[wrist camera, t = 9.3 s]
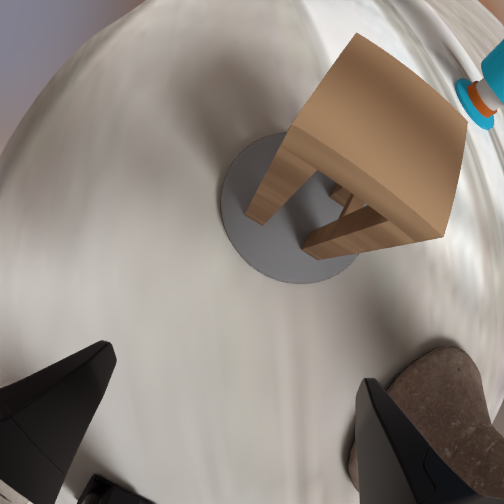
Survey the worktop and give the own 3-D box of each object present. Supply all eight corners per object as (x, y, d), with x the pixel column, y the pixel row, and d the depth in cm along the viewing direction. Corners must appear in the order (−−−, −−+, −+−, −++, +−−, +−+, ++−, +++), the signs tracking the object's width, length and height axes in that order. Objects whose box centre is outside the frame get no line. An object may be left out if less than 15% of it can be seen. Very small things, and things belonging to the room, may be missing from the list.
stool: (317, 260, 20) (443, 237, 8) (244, 214, 19) (291, 124, 7) (351, 192, 20) (467, 121, 9) (285, 149, 20) (356, 32, 8)
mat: (323, 312, 20) (326, 313, 19) (189, 226, 19) (188, 224, 19) (386, 191, 21) (390, 189, 21) (273, 111, 21) (275, 108, 20)
